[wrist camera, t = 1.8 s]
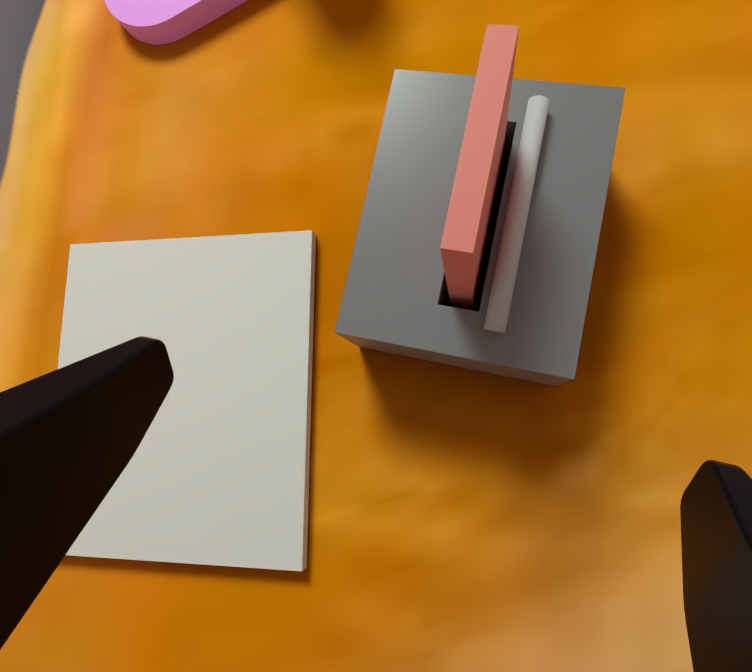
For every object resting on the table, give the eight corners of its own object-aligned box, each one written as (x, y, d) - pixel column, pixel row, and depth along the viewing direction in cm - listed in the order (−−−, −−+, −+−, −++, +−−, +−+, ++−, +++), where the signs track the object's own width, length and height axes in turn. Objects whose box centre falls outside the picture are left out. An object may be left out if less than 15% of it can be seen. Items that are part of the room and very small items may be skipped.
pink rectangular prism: (472, 320, 21) (473, 253, 12) (452, 316, 21) (439, 247, 12) (499, 183, 22) (518, 26, 13) (480, 180, 22) (487, 23, 13)
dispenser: (554, 386, 20) (579, 377, 15) (359, 346, 22) (329, 329, 17) (596, 148, 21) (631, 74, 16) (408, 128, 23) (392, 56, 18)
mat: (306, 567, 21) (302, 571, 20) (49, 549, 23) (38, 553, 22) (316, 235, 23) (312, 230, 22) (79, 248, 25) (70, 244, 24)
